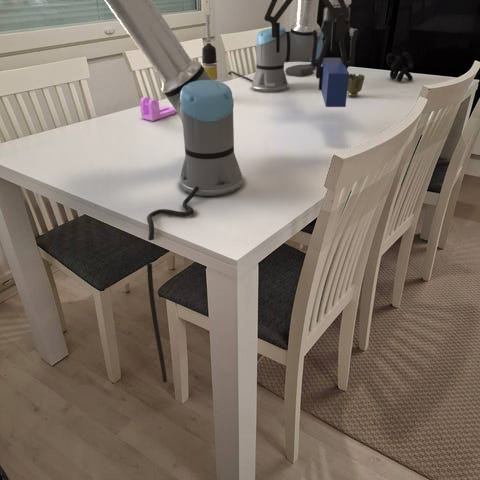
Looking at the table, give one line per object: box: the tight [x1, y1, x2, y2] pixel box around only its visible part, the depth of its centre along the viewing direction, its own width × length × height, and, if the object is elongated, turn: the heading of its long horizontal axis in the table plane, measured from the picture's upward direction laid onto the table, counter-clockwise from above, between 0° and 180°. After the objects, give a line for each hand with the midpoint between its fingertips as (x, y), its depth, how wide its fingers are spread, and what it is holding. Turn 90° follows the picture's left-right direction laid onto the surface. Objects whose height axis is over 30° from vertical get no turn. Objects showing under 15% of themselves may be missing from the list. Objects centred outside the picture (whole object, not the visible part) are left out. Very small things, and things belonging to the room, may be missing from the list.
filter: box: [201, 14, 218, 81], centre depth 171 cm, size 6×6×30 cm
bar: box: [320, 57, 350, 108], centre depth 132 cm, size 23×6×9 cm, turn 175°
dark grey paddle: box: [284, 63, 322, 77], centre depth 219 cm, size 3×11×24 cm
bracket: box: [139, 96, 177, 122], centre depth 158 cm, size 13×6×7 cm, turn 143°
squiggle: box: [385, 51, 414, 83], centre depth 198 cm, size 11×10×15 cm
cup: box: [347, 73, 365, 98], centre depth 176 cm, size 8×7×8 cm
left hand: (305, 51), depth 112 cm, fingers open, 13 cm apart
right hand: (330, 88), depth 140 cm, fingers closed on bar, 5 cm apart
